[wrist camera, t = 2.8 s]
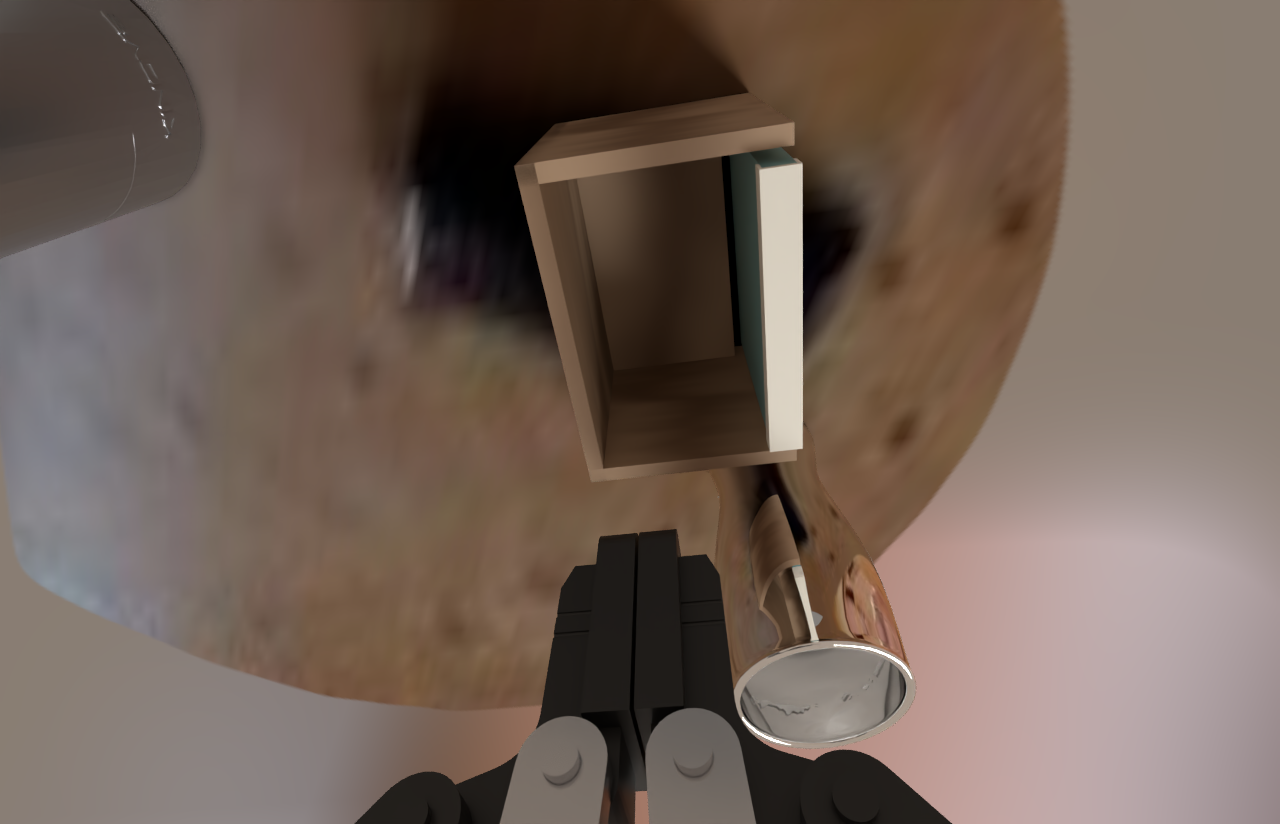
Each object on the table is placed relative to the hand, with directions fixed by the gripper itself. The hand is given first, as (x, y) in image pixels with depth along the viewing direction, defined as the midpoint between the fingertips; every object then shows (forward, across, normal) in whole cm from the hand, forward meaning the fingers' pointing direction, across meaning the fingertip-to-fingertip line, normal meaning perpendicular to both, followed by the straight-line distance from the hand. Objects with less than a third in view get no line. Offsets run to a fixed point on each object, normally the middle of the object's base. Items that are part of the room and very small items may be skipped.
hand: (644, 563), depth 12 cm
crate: (+19, -1, 0) cm, 19 cm away
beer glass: (+20, -5, +12) cm, 23 cm away
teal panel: (+19, -5, 0) cm, 20 cm away
